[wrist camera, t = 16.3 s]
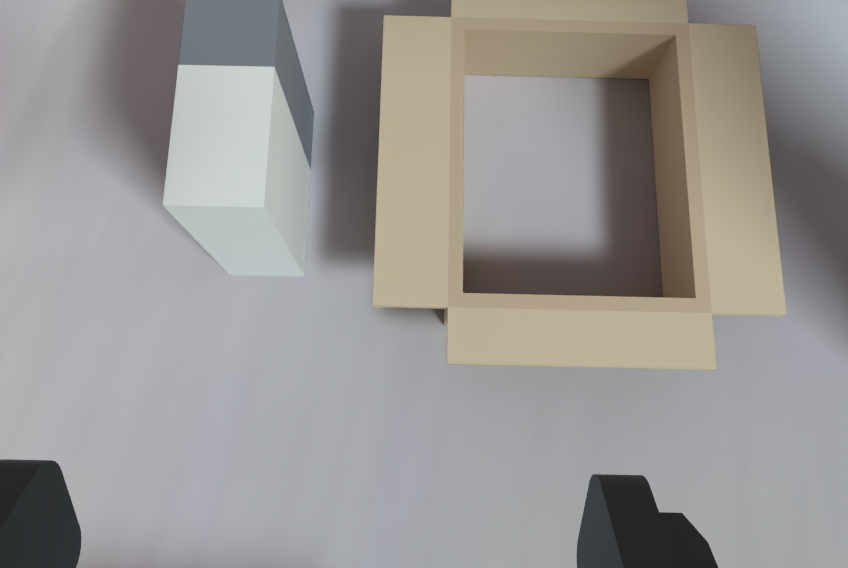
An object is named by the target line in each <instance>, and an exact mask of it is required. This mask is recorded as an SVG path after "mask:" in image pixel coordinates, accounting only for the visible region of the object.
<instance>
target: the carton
mask: <svg viewBox="0 0 848 568" xmlns="http://www.w3.org/2000/svg"><path fill="white" fill-rule="evenodd" d="M464 74H466V75H504V76H543V77H582V78H621V79H649V90H650V106H651V121H652V137H653V152H654V168H655V183H656V199H657V215H658V230H659V246H660V261H661V277H662V292H663V297H621V296H577V295H534V294H490V293H463V207H464ZM373 307H392V308H436V309H444V325H447V364H450V365H495V366H541V367H586V368H631V369H677V370H716V357H715V345H714V332H713V320H712V315H744V316H785V315H787V314H786V305H785V296H784V287H783V277H782V268H781V259H780V249H779V240H778V231H777V222H776V212H775V203H774V194H773V184H772V175H771V166H770V157H769V147H768V138H767V129H766V119H765V110H764V101H763V91H762V82H761V73H760V64H759V54H758V45H757V36H756V26H755V25H733V24H695V23H688V13H687V0H451V17H431V16H393V15H384V23H383V49H382V74H381V100H380V126H379V151H378V177H377V203H376V229H375V254H374V280H373Z"/></svg>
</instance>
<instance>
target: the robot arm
mask: <svg viewBox="0 0 848 568" xmlns="http://www.w3.org/2000/svg"><path fill="white" fill-rule="evenodd" d="M80 549H81V530H80V526H79V523H78V520H77V517H76V514H75V511H74V508H73V505H72V502H71V498H70V495H69V492H68V489H67V486H66V483H65V480H64V477H63V474H62V471H61V468H60V466H59V465H58V464H57V463H56V462H55V461H47V460H0V568H76V566H77V563H78V559H79V555H80ZM577 568H718V566H717V564H716V561H715V559H714V556H713V554H712V552H711V549H710V547H709V544H708V542H707V541H706V540H705V539H704V538H703V536H702V535H701V534H700V533H699V532H698V531H697V530H696V529H695V527H694V526H693V525H692V524H691V523H690V522H689V521H688V519H687V518H686V517H685V516H684V515H683V514H682V513H661V512H659V511H658V509H657V506H656V503H655V500H654V497H653V494H652V491H651V489H650V486H649V483H648V481H647V480H646V478H645V477H644V476H642V475H598V474H594V475H592V477H591V479H590V482H589V487H588V492H587V497H586V502H585V507H584V512H583V517H582V522H581V527H580V532H579V537H578V544H577Z"/></svg>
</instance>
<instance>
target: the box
mask: <svg viewBox="0 0 848 568" xmlns="http://www.w3.org/2000/svg"><path fill="white" fill-rule="evenodd" d="M313 117H314V111H313V107H312V104H311V100H310V97H309V93H308V90H307V86H306V83H305V79H304V76H303V72H302V69H301V65H300V62H299V58H298V54H297V51H296V47H295V44H294V40H293V37H292V33H291V30H290V26H289V23H288V19H287V16H286V12H285V9H284V5H283V1H282V0H186V2H185V10H184V19H183V28H182V37H181V46H180V55H179V64H178V73H177V82H176V90H175V99H174V108H173V117H172V126H171V135H170V144H169V153H168V161H167V170H166V179H165V188H164V197H163V206H164V207H165V208H166V209H167V210H168V211H169V212H170V213H171V215H172V216H173V217H174V218H175V219H176V220H177V221H178V222H179V223H180V224H181V225H182V226H183V227H184V228H185V229H186V230H187V231H188V232H189V233H190V234H191V235H192V236H193V237H194V238H195V239H196V240H197V241H198V242H199V244H200V245H201V246H202V247H203V248H204V249H205V250H206V251H207V252H208V253H209V254H210V255H211V256H212V257H213V258H214V259H215V260H216V261H217V262H218V263H219V264H220V265H221V266H222V267H223V268H224V269H225V270H226V271H227V273H228V274H229V275H253V276H304V270H305V253H306V236H307V219H308V202H309V185H310V168H311V151H312V134H313Z"/></svg>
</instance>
